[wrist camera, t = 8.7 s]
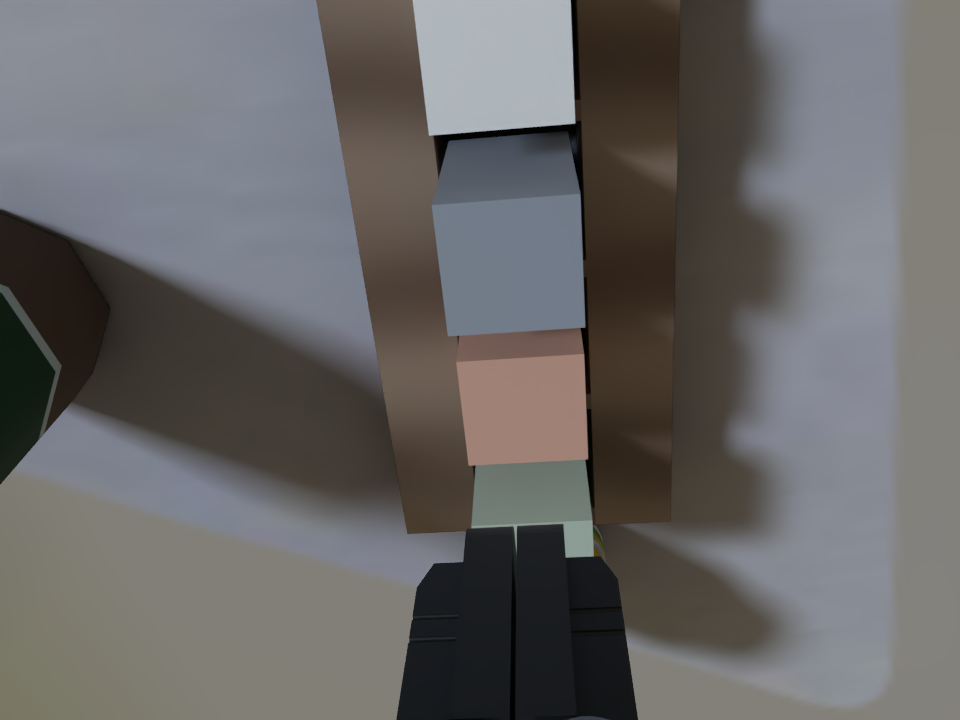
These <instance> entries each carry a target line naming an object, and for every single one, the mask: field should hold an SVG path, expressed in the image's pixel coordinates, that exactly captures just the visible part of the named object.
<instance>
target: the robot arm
mask: <svg viewBox="0 0 960 720" xmlns="http://www.w3.org/2000/svg"><path fill="white" fill-rule="evenodd" d="M409 638H410V641H409V643H408V649H407V656H406V662H405V668H404V674H403V681H402V687H401V694H400V700H399V707H398V713H397V720H638V717H637V710H636V703H635V696H634V689H633V682H632V675H631V668H630V661H629V655H628V648H627V641H626V635H625V627H624V620H623V613H622V606H621V599H620V592H619V585H618V579H617V578H616V576H615V575H614V574H613V572H612V571H611V570H610V568H609V567H608V566H607V564H606V563H605V562H604V560H603V559H602V558H601V556H591V557H568V558H566V554H565V540H564V525H563V524H547V525H525V526H517V553H516V542H515V533H514V527H513V526H508V527H487V528H468V529H467V530H466V538H465V549H464V560H463V562H458V563H435V564H433V566H432V567H431V569H430V570H429V572H428V573H427V574H426V576H425V577H424V579H423V580H422V581H421V583H420V584H419V586H418V587H417V591H416V597H415V604H414V610H413V620H412V623H411V630H410V636H409Z"/></svg>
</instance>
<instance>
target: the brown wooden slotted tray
mask: <svg viewBox="0 0 960 720" xmlns="http://www.w3.org/2000/svg"><path fill="white" fill-rule="evenodd" d="M316 1H317V7H318V13H319V19H320V25H321V30H322V36H323V42H324V48H325V54H326V60H327V66H328V71H329V77H330V83H331V89H332V95H333V101H334V107H335V112H336V118H337V124H338V130H339V136H340V142H341V148H342V153H343V159H344V165H345V171H346V177H347V183H348V189H349V194H350V200H351V206H352V212H353V218H354V224H355V230H356V235H357V241H358V247H359V253H360V259H361V265H362V271H363V276H364V282H365V288H366V294H367V300H368V306H369V312H370V317H371V323H372V329H373V335H374V341H375V347H376V353H377V358H378V364H379V370H380V376H381V382H382V388H383V394H384V399H385V405H386V411H387V417H388V423H389V429H390V435H391V440H392V446H393V452H394V458H395V464H396V470H397V476H398V481H399V487H400V493H401V499H402V505H403V511H404V517H405V522H406V528H407V534H413V533H435V532H456V531H466V530H467V529H468V528H472V527H471V524H472V510H473V496H474V482H475V468H476V465H472V466H469V464H468V456H467V448H466V440H465V431H464V423H463V415H462V406H461V398H460V390H459V381H458V373H457V365H456V359H457V351H458V344H459V336H448V333H447V325H446V317H445V309H444V301H443V293H442V285H441V277H440V269H439V261H438V252H437V244H436V236H435V228H434V220H433V212H432V202H433V198H434V195H435V191H436V187H437V183H438V180H439V176H440V172H441V168H442V165H443V161H444V157H445V153H446V152H445V143H444V135H432V136H429V132H428V124H427V116H426V107H425V99H424V91H423V82H422V74H421V66H420V58H419V49H418V41H417V33H416V24H415V16H414V8H413V0H316ZM572 21H573V47H574V74H575V79H574V102H575V121H576V127H577V154H578V180H579V189H580V197H581V224H582V251H583V278H584V305H585V328H584V340H585V353H584V363H585V389H586V409H587V419H588V446H589V461H585V462H586V470H587V479H588V487H589V496H590V504H591V513H592V523H593V525H605V524H627V523H648V522H669V521H670V519H671V466H672V413H673V361H674V308H675V255H676V203H677V150H678V97H679V45H680V0H572Z"/></svg>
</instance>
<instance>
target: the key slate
mask: <svg viewBox="0 0 960 720" xmlns="http://www.w3.org/2000/svg"><path fill="white" fill-rule="evenodd" d="M432 212H433V220H434V228H435V236H436V244H437V252H438V261H439V269H440V277H441V285H442V293H443V301H444V309H445V317H446V325H447V333H448V336H462V335H478V334H493V333H509V332H524V331H540V330H555V329H571V328H585V305H584V278H583V251H582V224H581V197H580V189H579V185H578V180H577V175H576V170H575V165H574V160H573V155H572V150H571V146H570V141H569V136H568V131H562V132H550V133H538V134H526V135H514V136H501V137H489V138H477V139H465V140H453V141H449V142H448V146H447V150H446V153H445V157H444V161H443V165H442V168H441V172H440V176H439V180H438V183H437V187H436V191H435V195H434V198H433V202H432Z"/></svg>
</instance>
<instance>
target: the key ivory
mask: <svg viewBox="0 0 960 720" xmlns="http://www.w3.org/2000/svg"><path fill="white" fill-rule="evenodd" d="M413 8H414V16H415V24H416V33H417V41H418V49H419V58H420V66H421V74H422V82H423V91H424V99H425V107H426V116H427V124H428V132H429V136H432V135H444V134H456V133H468V132H480V131H492V130H504V129H516V128H528V127H540V126H552V125H564V124H575V102H574V76H573V49H572V23H571V0H413Z"/></svg>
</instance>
